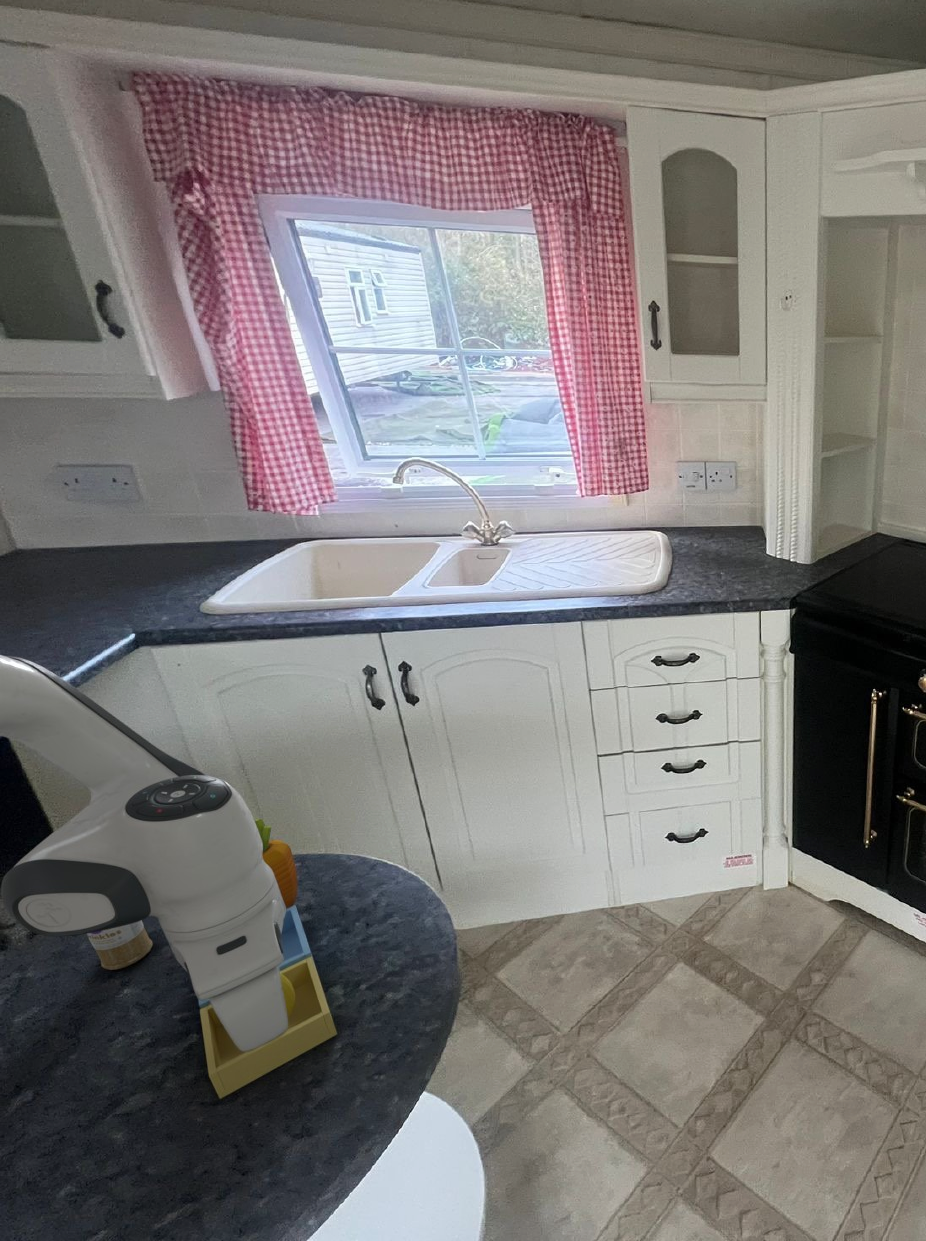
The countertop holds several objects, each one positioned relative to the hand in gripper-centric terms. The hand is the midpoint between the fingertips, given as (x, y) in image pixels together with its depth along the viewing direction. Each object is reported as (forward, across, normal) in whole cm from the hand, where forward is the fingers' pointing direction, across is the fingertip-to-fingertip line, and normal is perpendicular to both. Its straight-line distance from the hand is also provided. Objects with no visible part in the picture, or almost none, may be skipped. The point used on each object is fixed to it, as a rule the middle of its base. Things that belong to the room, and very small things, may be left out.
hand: (265, 1012), depth 76 cm
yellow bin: (+3, 0, 0) cm, 3 cm away
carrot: (+4, -19, +4) cm, 20 cm away
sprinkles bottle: (+4, -24, -11) cm, 27 cm away
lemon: (+3, 0, 0) cm, 3 cm away
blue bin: (+3, -11, 0) cm, 11 cm away
